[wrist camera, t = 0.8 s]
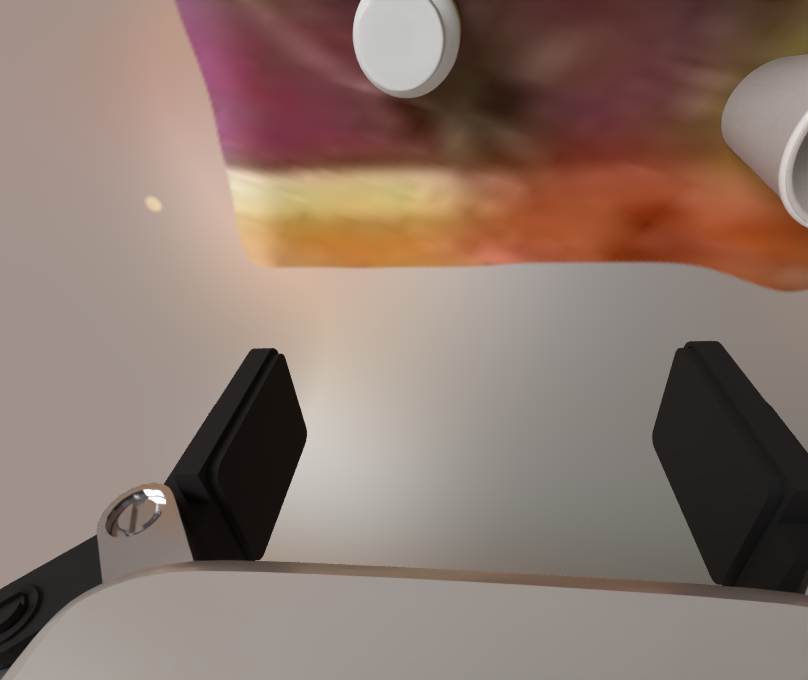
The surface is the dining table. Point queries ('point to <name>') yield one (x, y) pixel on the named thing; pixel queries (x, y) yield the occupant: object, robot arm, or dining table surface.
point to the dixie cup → (773, 129)
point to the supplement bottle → (406, 43)
